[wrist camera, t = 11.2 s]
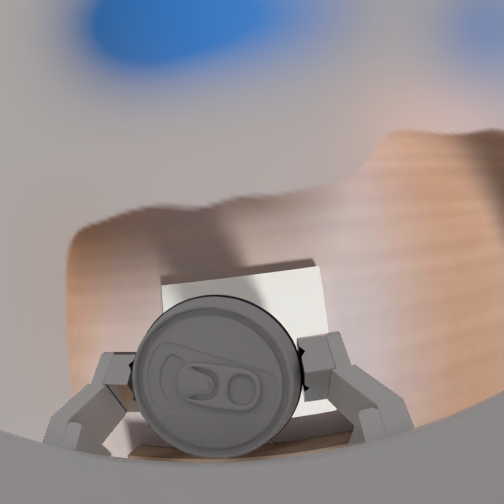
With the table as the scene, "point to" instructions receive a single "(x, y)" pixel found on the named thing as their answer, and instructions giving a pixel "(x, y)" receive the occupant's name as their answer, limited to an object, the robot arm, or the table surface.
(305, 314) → the pad
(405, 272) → the table surface
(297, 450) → the base
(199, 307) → the beverage can
